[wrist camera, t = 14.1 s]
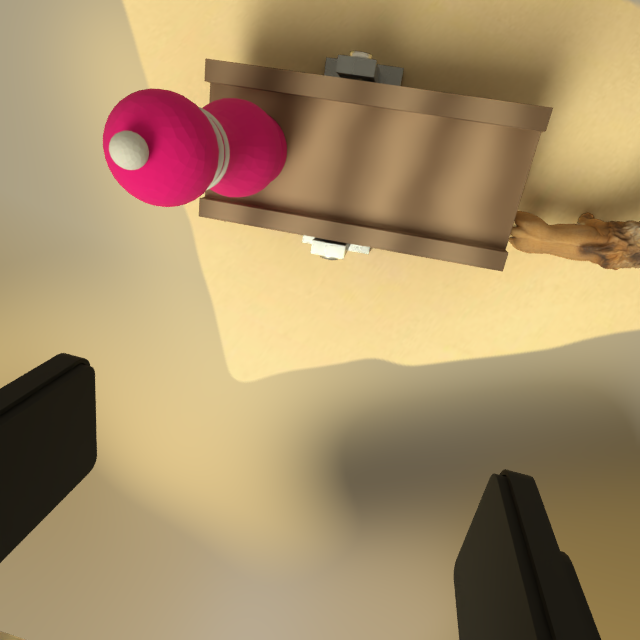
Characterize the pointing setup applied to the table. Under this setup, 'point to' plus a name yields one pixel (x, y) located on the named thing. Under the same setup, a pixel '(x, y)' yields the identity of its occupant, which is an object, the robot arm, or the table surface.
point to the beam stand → (363, 70)
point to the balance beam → (385, 164)
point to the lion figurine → (580, 240)
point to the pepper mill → (191, 147)
